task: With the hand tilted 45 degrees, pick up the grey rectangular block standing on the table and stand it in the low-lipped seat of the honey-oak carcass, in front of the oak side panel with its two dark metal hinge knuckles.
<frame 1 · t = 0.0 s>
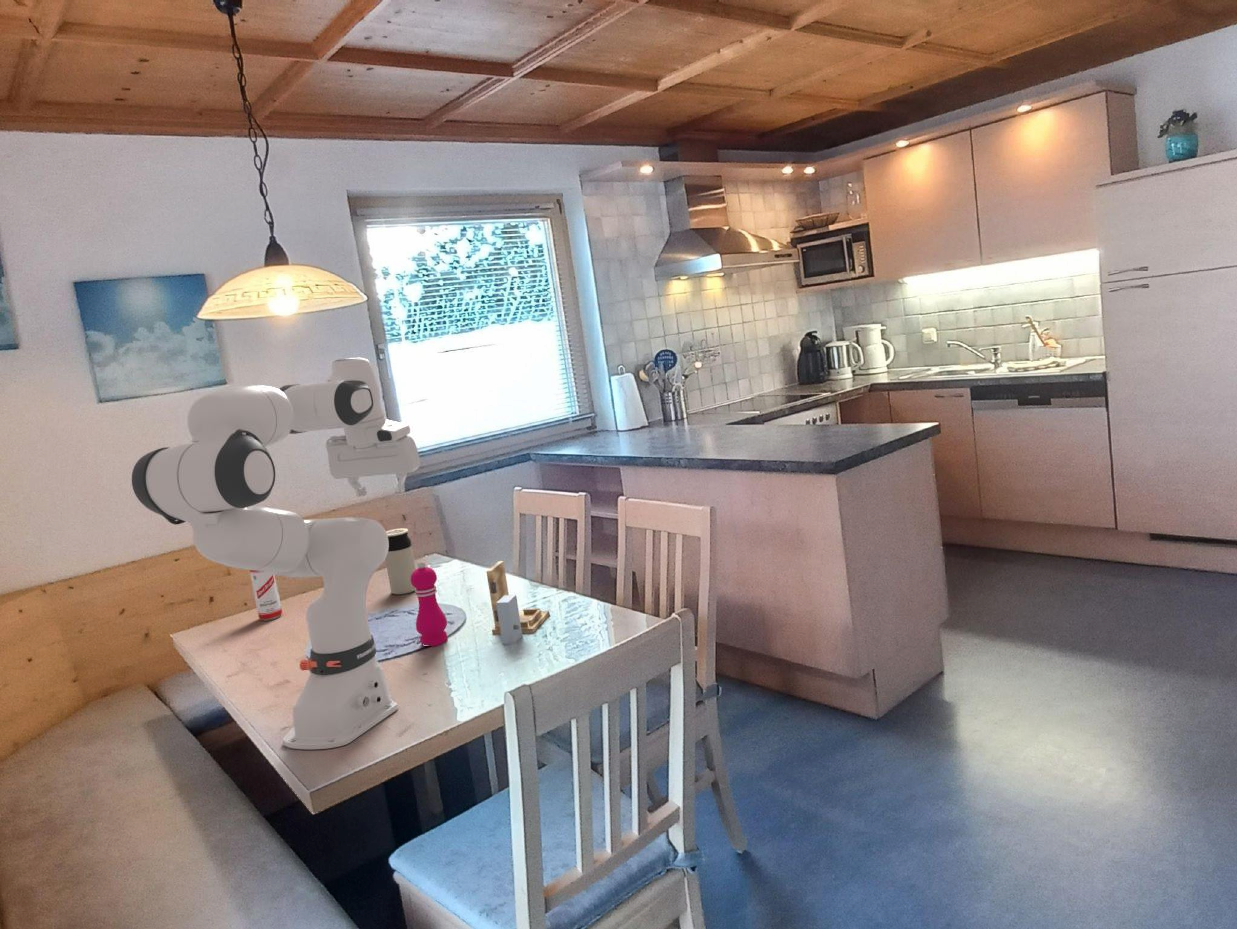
hand: (381, 494, 180), 39 cm above the table, tool pointing down, fingers open, 8 cm apart
carcass: (523, 624, 202), on the table
beer can: (271, 618, 235), on the table
grey rectangular block: (512, 639, 193), on the table
travel mug: (405, 591, 245), on the table
pepper mill: (434, 642, 198), on the table
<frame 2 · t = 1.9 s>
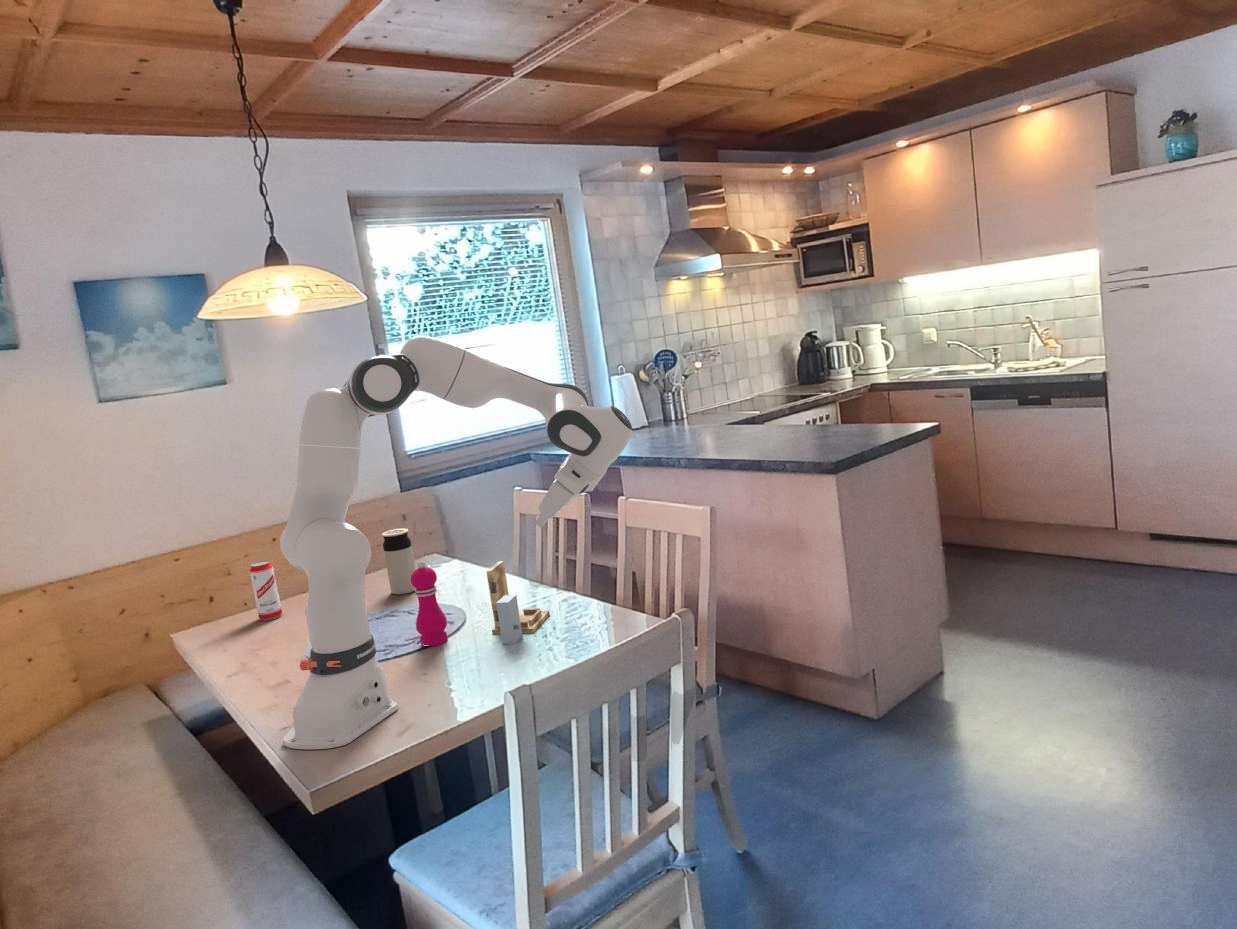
hand: (545, 519, 185), 28 cm above the table, tool tilted 45°, fingers open, 8 cm apart
nothing on the table moved.
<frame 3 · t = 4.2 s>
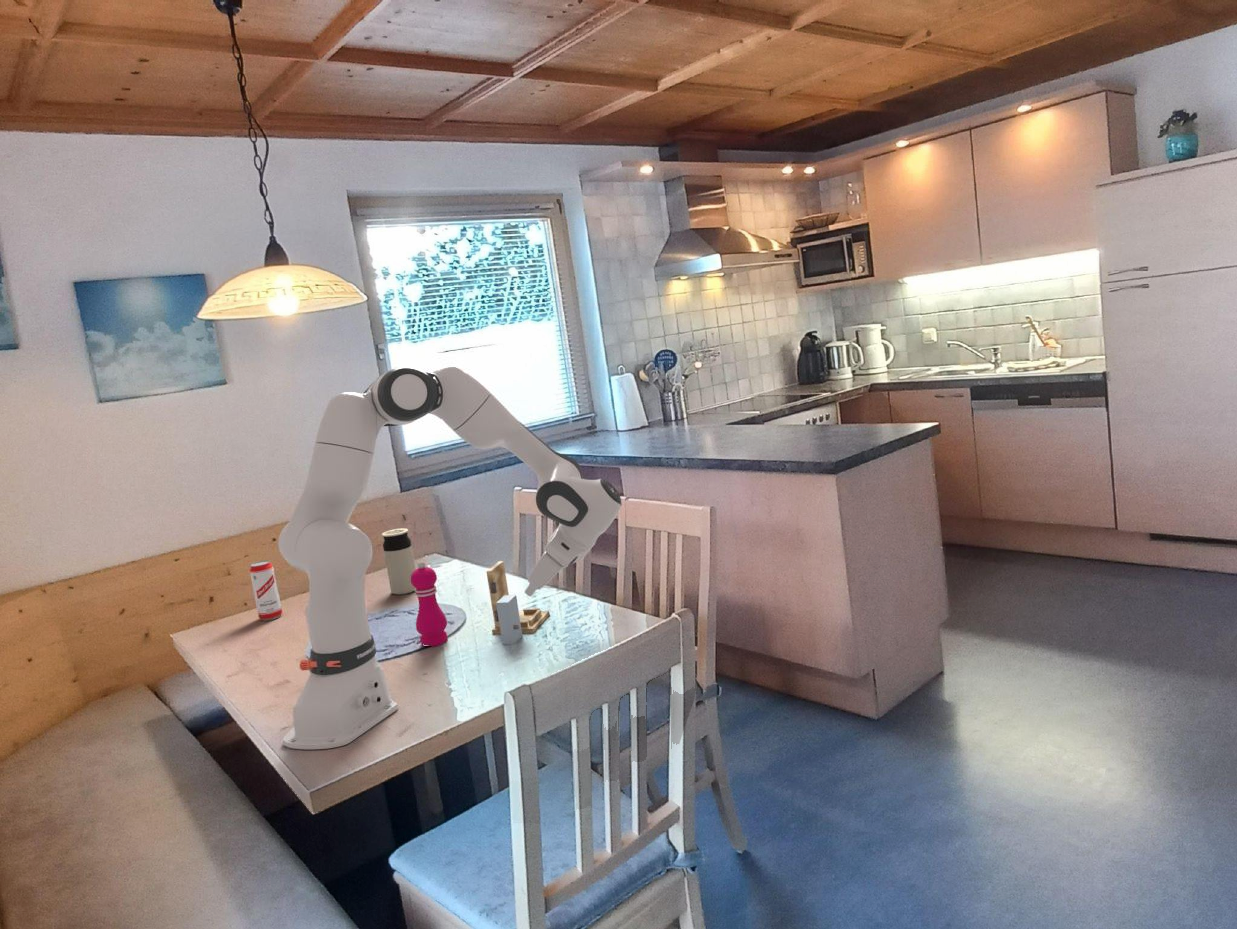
hand: (535, 586, 189), 13 cm above the table, tool tilted 45°, fingers open, 8 cm apart
nothing on the table moved.
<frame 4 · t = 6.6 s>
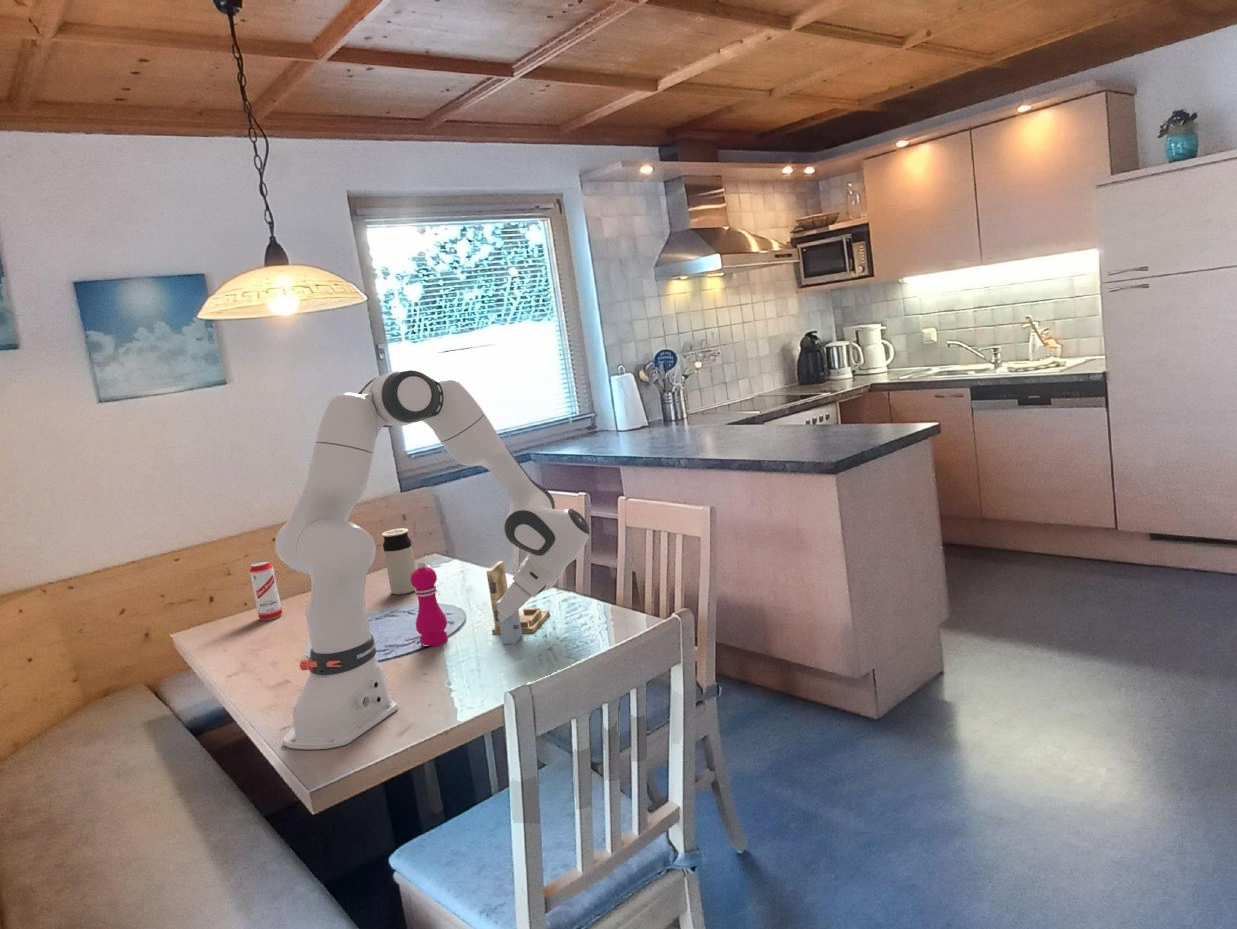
hand: (505, 613, 192), 6 cm above the table, tool tilted 45°, fingers closed on grey rectangular block, 5 cm apart
grey rectangular block: (512, 639, 193), on the table, touching gripper
everything else where it was.
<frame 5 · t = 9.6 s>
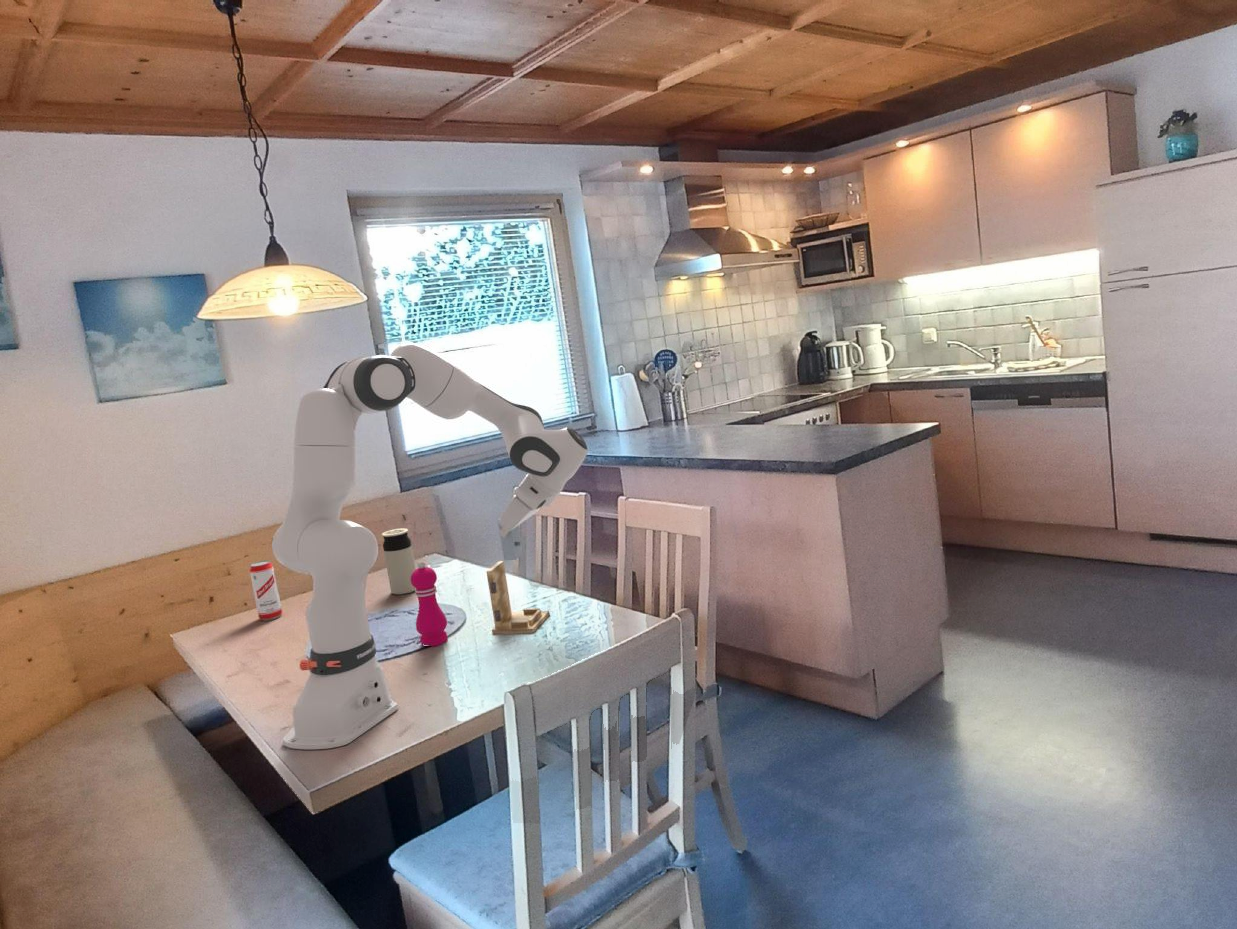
hand: (507, 531, 199), 23 cm above the table, tool tilted 45°, fingers closed on grey rectangular block, 5 cm apart
grey rectangular block: (513, 557, 200), point 17 cm above the table, touching gripper
everything else where it was.
when the fingers open (8 cm above the table, at t = 12.8 s): grey rectangular block stays where it is, resting on carcass.
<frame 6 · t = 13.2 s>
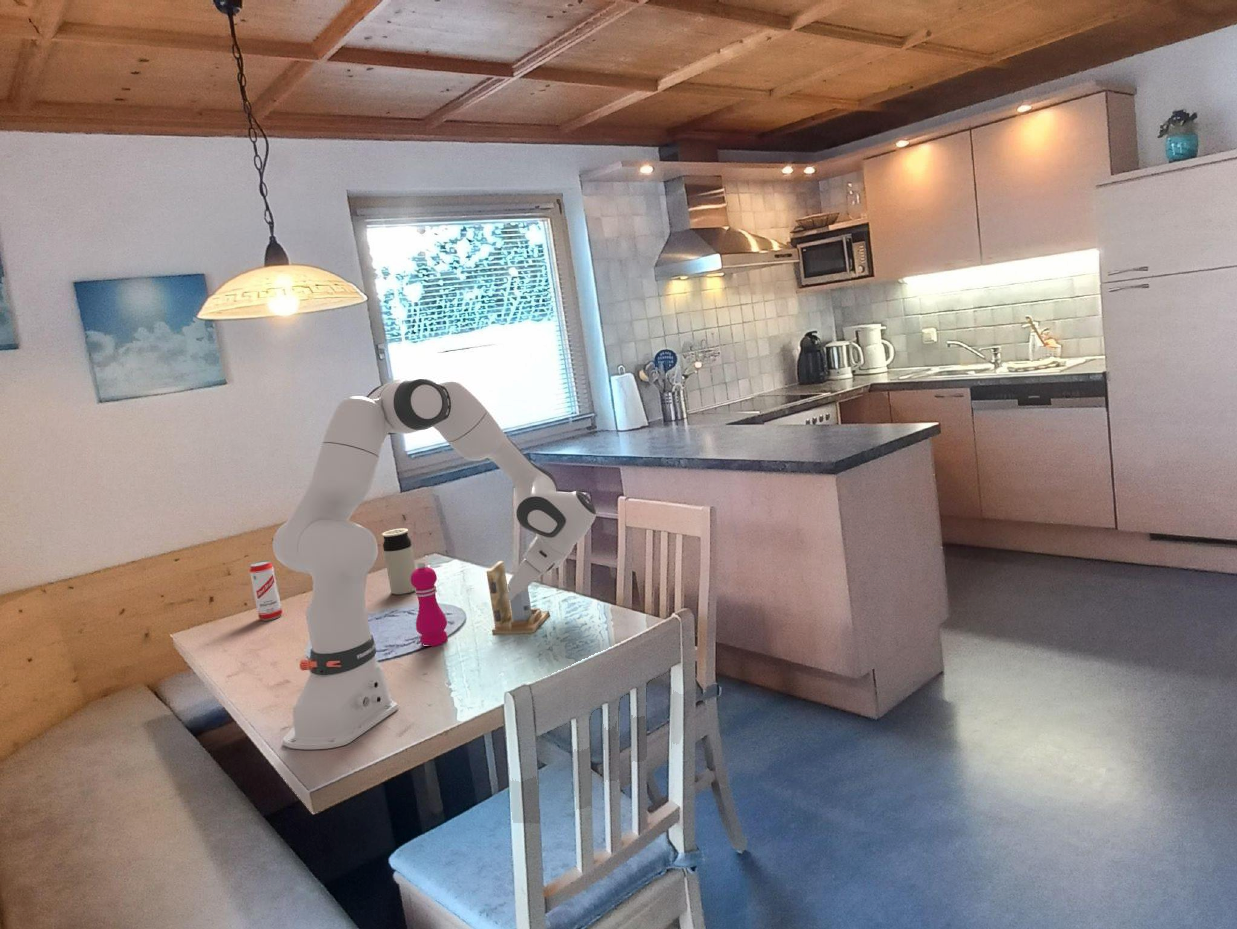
hand: (516, 591, 201), 8 cm above the table, tool tilted 45°, fingers open, 8 cm apart
grey rectangular block: (522, 620, 202), point 1 cm above the table, touching carcass
everything else where it was.
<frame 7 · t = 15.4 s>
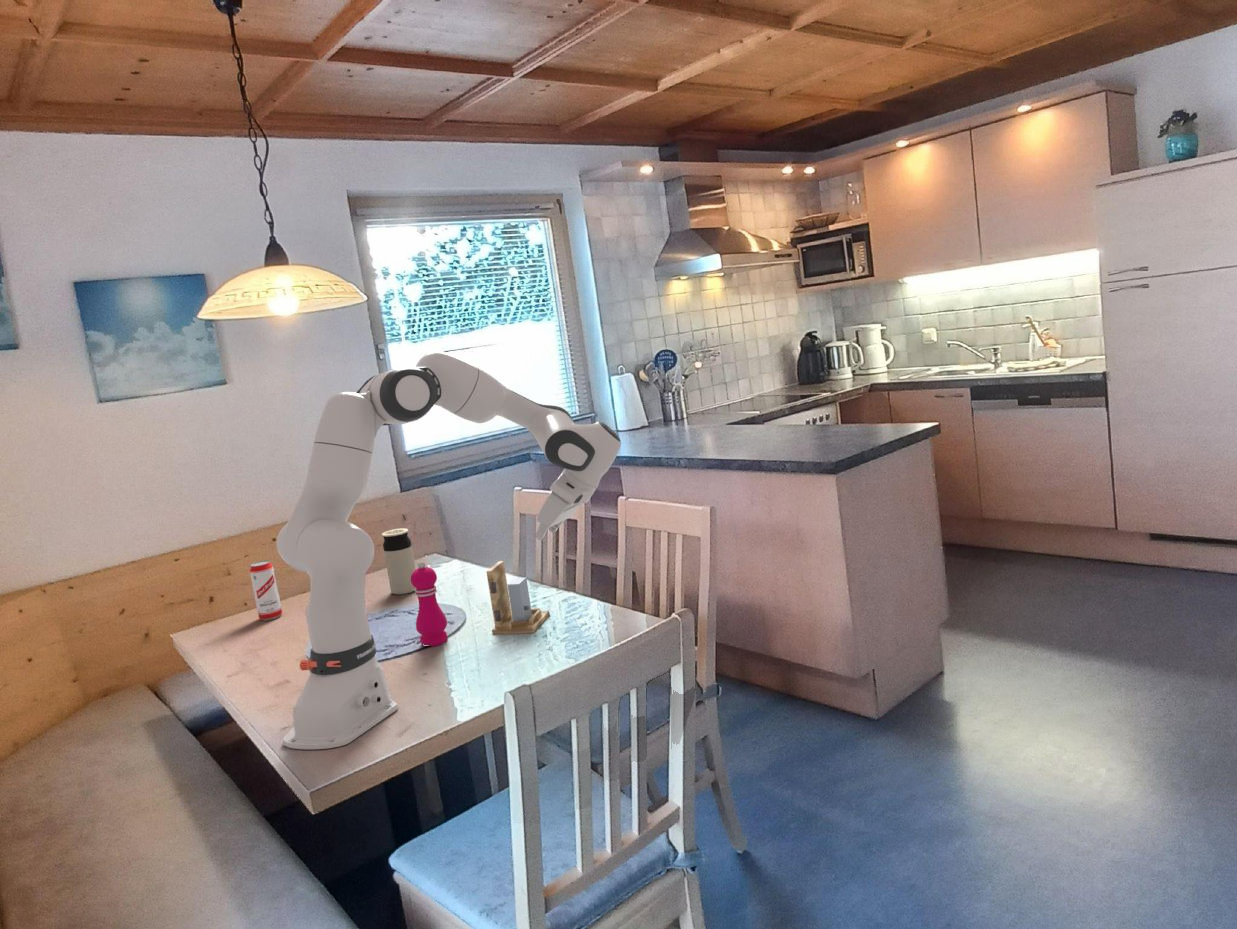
hand: (545, 534, 197), 22 cm above the table, tool tilted 40°, fingers open, 8 cm apart
nothing on the table moved.
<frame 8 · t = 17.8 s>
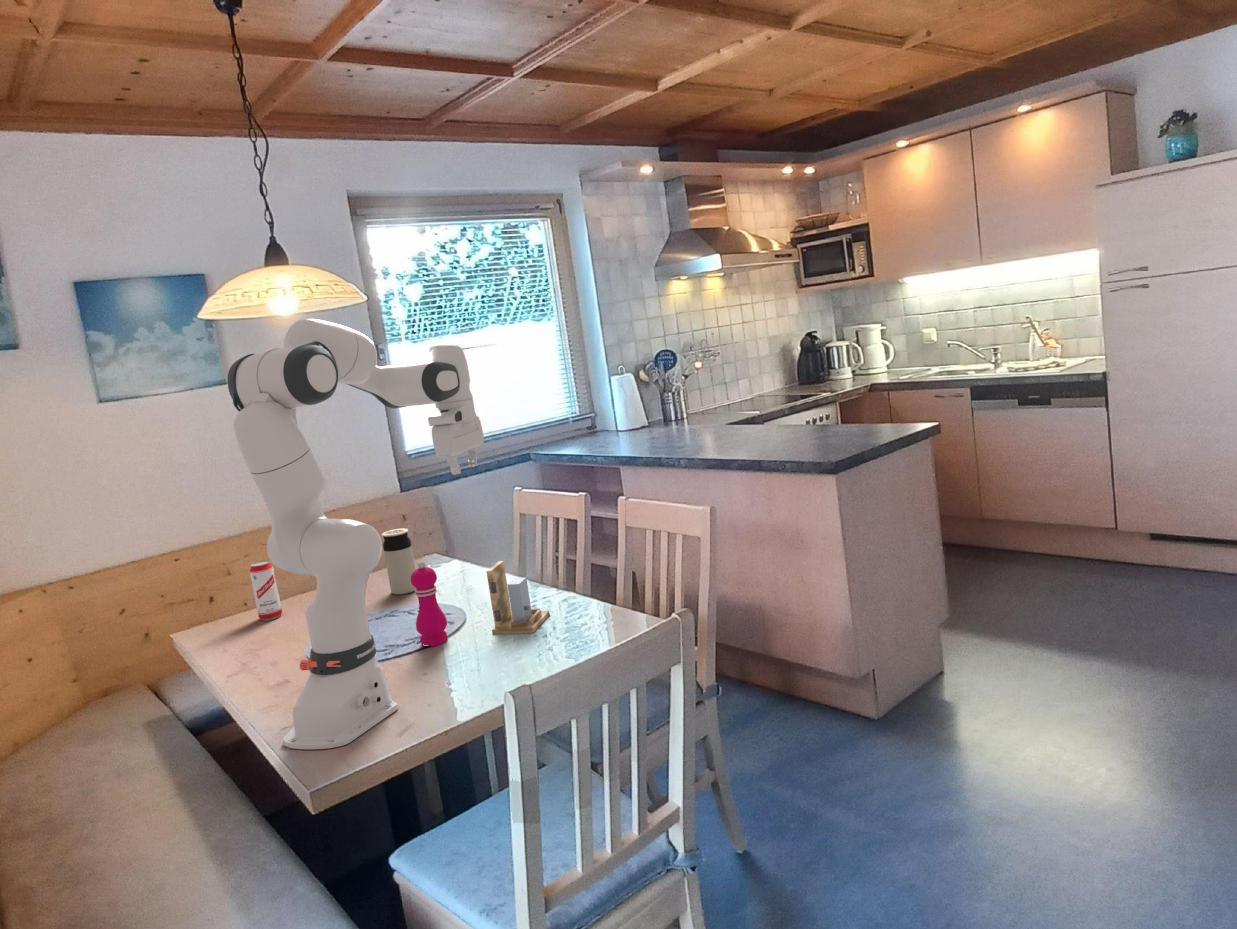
hand: (464, 470, 199), 39 cm above the table, tool pointing down, fingers open, 8 cm apart
nothing on the table moved.
at the end: grey rectangular block inside the target area on the carcass (0.4 cm from its centre), point 1.0 cm above the carcass's base; grey rectangular block tilted 0°; the gripper is holding nothing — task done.
